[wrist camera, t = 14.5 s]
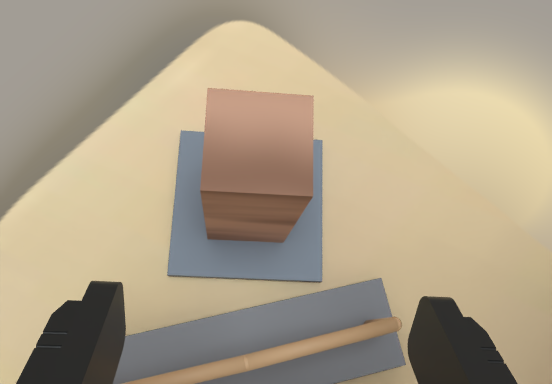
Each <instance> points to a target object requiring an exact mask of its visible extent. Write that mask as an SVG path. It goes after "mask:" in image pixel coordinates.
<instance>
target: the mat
mask: <svg viewBox="0 0 552 384" xmlns="http://www.w3.org/2000/svg"><path fill="white" fill-rule="evenodd" d="M203 145H204V132H195V131H181V136H180V146H179V157H178V168H177V178H176V189H175V199H174V210H173V221H172V231H171V242H170V253H169V263H168V274H167V275H168V276H182V277H206V278H230V279H254V280H278V281H302V282H322V140H313V198H312V199H311V201H310V202H309V204H308V205H307V207H306V208H305V210H304V211H303V213H302V215H301V216H300V218H299V219H298V221H297V222H296V224H295V225H294V227H293V228H292V230H291V232H290V233H289V235H288V236H287V238H286V239H285V241H284V242H283V243H277V242H255V241H233V240H211V239H207V232H206V226H205V219H204V212H203V206H202V199H201V193H200V186H201V172H202V159H203Z"/></svg>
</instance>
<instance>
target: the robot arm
mask: <svg viewBox="0 0 552 384" xmlns="http://www.w3.org/2000/svg"><path fill="white" fill-rule="evenodd" d="M125 331H126V325H125V309H124V294H123V285H122V283H121V282H105V281H91V282H90V284H89V286H88V288H87V290H86V293H85V295H84V297H83V299H82V301H72V300H67V301H66V302H65V303H64V304H63V305H62V306H61V307H60V308H58V309H57V310H56V311H55V312H54V313H53V314H52V315H51V317H50V319H49V321H48V323H47V325H46V327H45V328H44V330H43V334H41V336H40V338H39V340H38V342H37V344H36V348H34V350H33V352H32V354H31V356H30V358H29V360H28V362H27V364H26V365H25V367H24V369H23V371H22V373H21V375H20V377H19V379H18V381H17V383H16V384H113V381H114V378H115V375H116V371H117V368H118V365H119V361H120V358H121V355H122V351H123V347H124V341H125ZM408 355H409V360H410V363H411V365H412V368H413V371H414V373H415V376H416V379H417V381H418V384H517V382H516V380H515V379H514V377H513V375H512V374H511V372H510V370H509V369H508V367H507V365H506V364H504V360H503V359H502V357H501V355H500V354H499V352H498V351H496V347H495V345H494V343H493V342H492V340H491V338H490V337H489V335H488V333H487V332H486V331H485V330H484V329H483V328H482V327H481V326H480V325H479V324H478V323H476V322H475V321H474V320H473V319H472V318H471V317H463V315H462V314H461V312H460V310H459V308H458V306H457V305H456V303H455V301H454V300H453V299H452V298H450V297H428V296H424V297H422V298H421V300H420V302H419V305H418V308H417V311H416V315H415V318H414V321H413V324H412V328H411V331H410V334H409V338H408Z"/></svg>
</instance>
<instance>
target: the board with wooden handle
mask: <svg viewBox="0 0 552 384" xmlns="http://www.w3.org/2000/svg"><path fill="white" fill-rule="evenodd" d="M401 327H402V323H401V321H400V319H398V318H397V317H392V314H391V311H390V307H389V304H388V300H387V296H386V293H385V289H384V286H383V282H382V279H381V278H379V279H374V280H370V281H365V282H361V283H357V284H352V285H348V286H344V287H339V288H335V289H330V290H326V291H322V292H317V293H313V294H309V295H304V296H300V297H295V298H291V299H287V300H282V301H278V302H274V303H269V304H265V305H260V306H256V307H252V308H247V309H243V310H239V311H234V312H230V313H225V314H221V315H217V316H212V317H208V318H204V319H199V320H195V321H190V322H186V323H182V324H177V325H173V326H169V327H164V328H160V329H155V330H151V331H147V332H142V333H138V334H134V335H129V336H125V341H124V347H123V351H122V355H121V358H120V361H119V365H118V368H117V371H116V375H115V378H114V381H113V384H335V383H338V382H342V381H346V380H350V379H354V378H358V377H361V376H365V375H369V374H373V373H377V372H380V371H384V370H388V369H392V368H396V367H399V366H403V365H406V364H405V360H404V357H403V353H402V349H401V346H400V342H399V339H398V335H397V331H399V330H400V329H401Z"/></svg>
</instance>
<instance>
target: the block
mask: <svg viewBox="0 0 552 384" xmlns="http://www.w3.org/2000/svg"><path fill="white" fill-rule="evenodd" d="M200 193H201V199H202V206H203V212H204V219H205V226H206V232H207V239H211V240H233V241H255V242H277V243H283V242H284V241H285V239H286V238H287V236H288V235H289V233H290V232H291V230H292V228H293V227H294V225H295V224H296V222H297V221H298V219H299V218H300V216H301V215H302V213H303V211H304V210H305V208H306V207H307V205H308V204H309V202H310V201H311V199H312V198H313V96H309V95H296V94H282V93H269V92H255V91H242V90H228V89H215V88H208V91H207V104H206V118H205V131H204V145H203V159H202V172H201V186H200Z"/></svg>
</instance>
